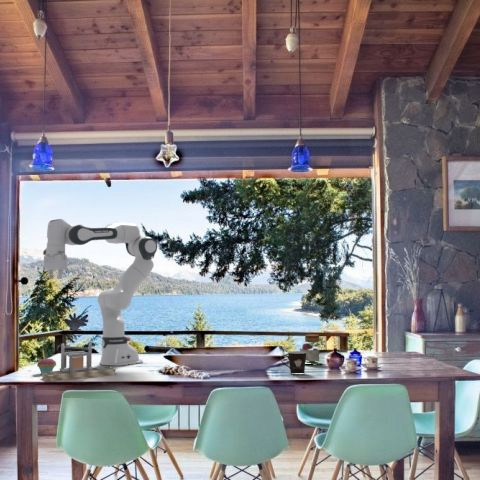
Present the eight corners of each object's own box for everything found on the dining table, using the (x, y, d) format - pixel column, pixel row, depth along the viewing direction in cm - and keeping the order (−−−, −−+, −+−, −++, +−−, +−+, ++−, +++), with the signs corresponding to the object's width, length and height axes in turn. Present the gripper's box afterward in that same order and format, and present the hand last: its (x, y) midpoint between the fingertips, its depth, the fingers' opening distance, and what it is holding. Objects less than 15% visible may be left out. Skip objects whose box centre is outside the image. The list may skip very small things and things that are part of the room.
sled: (89, 367, 282) (89, 341, 283) (93, 368, 278) (93, 342, 279) (59, 370, 275) (59, 343, 275) (62, 371, 270) (62, 344, 271)
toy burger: (302, 361, 321) (302, 333, 322) (325, 362, 316) (325, 334, 317) (296, 364, 310) (296, 335, 311) (320, 366, 305) (320, 336, 306)
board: (107, 371, 290) (107, 365, 290) (115, 374, 281) (115, 368, 281) (42, 378, 273) (42, 371, 273) (48, 381, 264) (48, 374, 265)
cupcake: (38, 375, 280) (39, 349, 281) (35, 373, 287) (36, 347, 288) (57, 374, 284) (57, 348, 284) (54, 371, 291) (54, 346, 292)
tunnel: (82, 369, 283) (82, 350, 283) (89, 371, 275) (89, 353, 275) (63, 370, 278) (63, 352, 278) (69, 373, 270) (69, 354, 270)
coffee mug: (309, 372, 285) (308, 351, 285) (303, 375, 277) (302, 353, 277) (286, 371, 289) (285, 350, 290) (279, 374, 282) (279, 352, 282)
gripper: (71, 250, 294) (70, 279, 293) (53, 252, 309) (53, 278, 308) (58, 250, 289) (58, 279, 289) (41, 251, 305) (41, 278, 304)
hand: (55, 278), depth 299 cm, fingers open, 8 cm apart
